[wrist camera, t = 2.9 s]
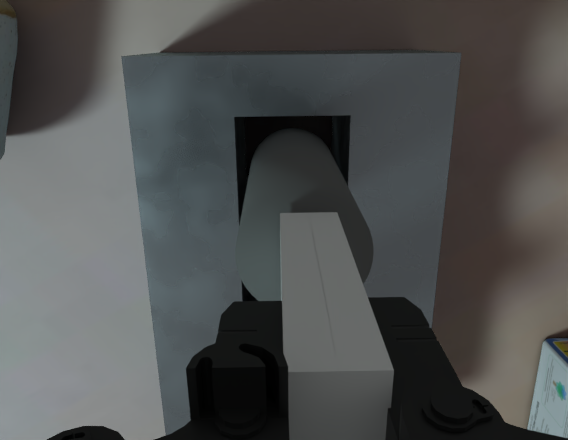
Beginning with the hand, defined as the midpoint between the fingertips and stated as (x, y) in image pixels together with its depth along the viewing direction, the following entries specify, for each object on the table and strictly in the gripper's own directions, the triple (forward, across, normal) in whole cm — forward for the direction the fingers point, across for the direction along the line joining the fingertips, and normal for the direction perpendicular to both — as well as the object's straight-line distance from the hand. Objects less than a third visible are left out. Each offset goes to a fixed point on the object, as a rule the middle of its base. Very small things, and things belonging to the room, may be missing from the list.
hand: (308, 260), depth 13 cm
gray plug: (+10, 0, 0) cm, 10 cm away
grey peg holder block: (+16, 0, -8) cm, 18 cm away
